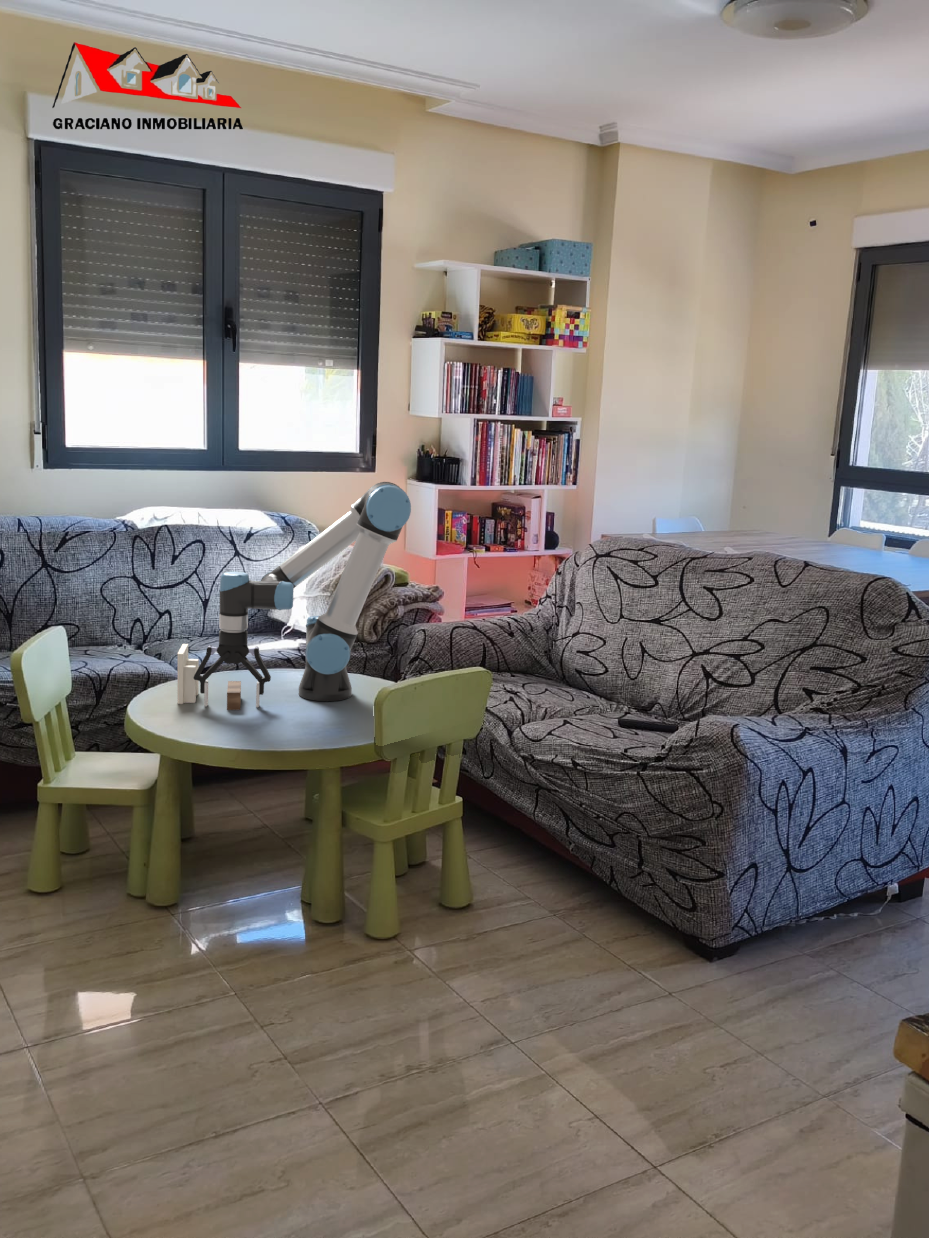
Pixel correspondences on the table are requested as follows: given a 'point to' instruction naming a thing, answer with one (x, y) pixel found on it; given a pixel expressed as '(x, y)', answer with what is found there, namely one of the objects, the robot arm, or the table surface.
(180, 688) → the white twin-rail base
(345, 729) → the table surface
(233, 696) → the brown rectangular block
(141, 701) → the table surface
